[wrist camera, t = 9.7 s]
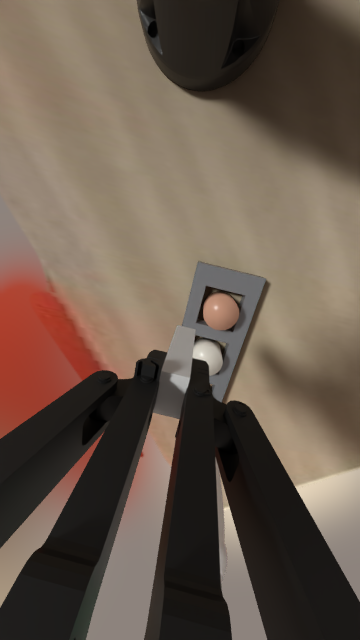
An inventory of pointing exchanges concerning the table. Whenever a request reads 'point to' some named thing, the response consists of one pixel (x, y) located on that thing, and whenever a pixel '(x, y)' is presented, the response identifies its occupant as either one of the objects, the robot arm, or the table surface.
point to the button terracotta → (220, 310)
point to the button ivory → (208, 353)
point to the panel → (233, 336)
